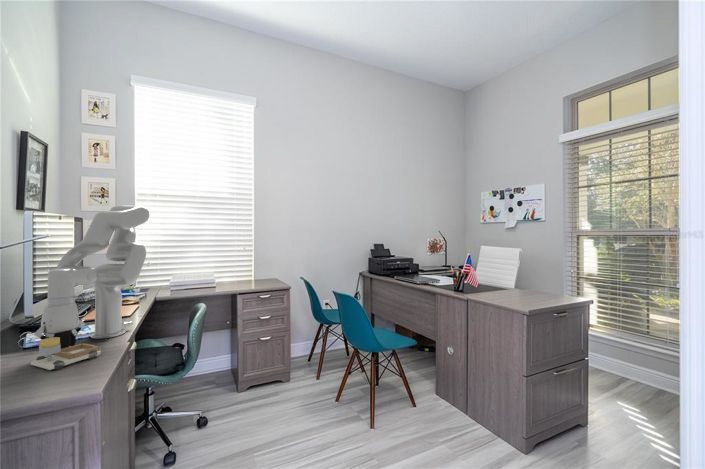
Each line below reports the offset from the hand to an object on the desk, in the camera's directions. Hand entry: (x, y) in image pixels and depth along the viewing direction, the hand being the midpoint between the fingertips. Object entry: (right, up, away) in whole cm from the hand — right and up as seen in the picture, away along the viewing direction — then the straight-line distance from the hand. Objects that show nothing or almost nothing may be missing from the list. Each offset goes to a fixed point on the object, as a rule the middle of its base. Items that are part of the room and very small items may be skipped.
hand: (60, 348), depth 121 cm
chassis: (+10, -2, -8) cm, 13 cm away
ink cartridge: (0, -2, 0) cm, 2 cm away
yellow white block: (+8, +3, -13) cm, 15 cm away
